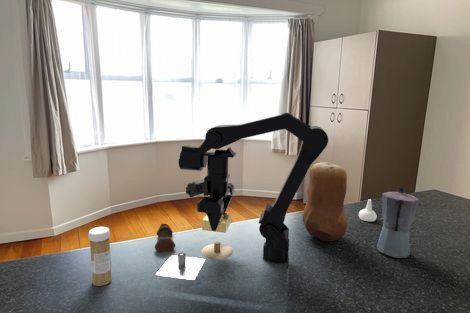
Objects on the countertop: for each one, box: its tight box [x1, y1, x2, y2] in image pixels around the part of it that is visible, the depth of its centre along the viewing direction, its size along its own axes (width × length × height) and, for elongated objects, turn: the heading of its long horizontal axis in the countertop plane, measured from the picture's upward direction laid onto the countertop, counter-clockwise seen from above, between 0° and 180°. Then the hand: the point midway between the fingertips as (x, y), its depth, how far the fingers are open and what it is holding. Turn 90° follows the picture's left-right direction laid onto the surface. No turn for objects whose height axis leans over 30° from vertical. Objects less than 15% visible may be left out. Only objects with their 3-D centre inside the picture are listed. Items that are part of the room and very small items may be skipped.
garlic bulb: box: [358, 198, 378, 223], centre depth 117 cm, size 6×6×8 cm
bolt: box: [154, 223, 176, 253], centre depth 95 cm, size 6×5×15 cm
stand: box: [201, 241, 234, 260], centre depth 89 cm, size 9×9×4 cm
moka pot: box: [376, 186, 420, 259], centre depth 90 cm, size 10×15×20 cm, turn 155°
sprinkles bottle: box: [88, 226, 113, 287], centre depth 74 cm, size 5×5×13 cm
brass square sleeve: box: [201, 212, 232, 234], centre depth 87 cm, size 7×7×3 cm
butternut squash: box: [302, 161, 348, 243], centre depth 98 cm, size 14×13×25 cm
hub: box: [155, 251, 206, 281], centre depth 80 cm, size 10×10×4 cm
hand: (217, 225), depth 88 cm, fingers closed on brass square sleeve, 7 cm apart
